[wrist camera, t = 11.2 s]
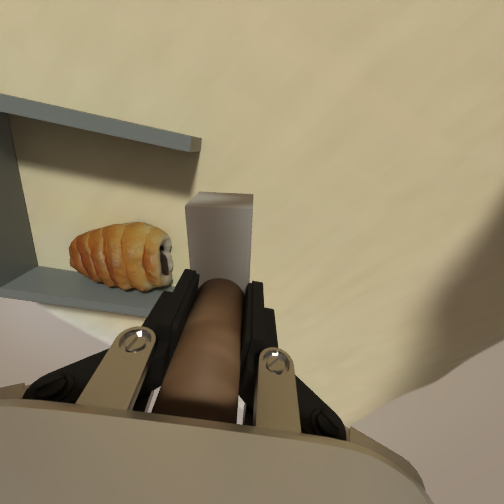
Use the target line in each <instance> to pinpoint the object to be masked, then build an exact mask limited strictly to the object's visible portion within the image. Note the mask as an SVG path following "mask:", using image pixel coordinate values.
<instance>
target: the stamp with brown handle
mask: <svg viewBox="0 0 504 504" xmlns="http://www.w3.org/2000/svg"><path fill="white" fill-rule="evenodd" d="M185 214H186V225H187V236H188V248H189V259H190V270H195V271H196V274H200V276H199V285H198V291H197V294H196V297H195V299H194V302H193V305H192V307H191V310H190V312H189V315H188V318H187V320H186V323H185V326H184V328H183V331H182V334H181V336H180V339H179V341H178V344H177V347H176V349H175V351H174V354H173V356H172V359H171V362H170V364H169V367H168V370H167V372H166V375H165V377H164V380H163V383H162V385H161V388H160V391H159V393H158V396H157V398H156V401H155V404H154V406H153V409H152V412H151V413H155V414H163V415H171V416H178V417H186V418H194V419H202V420H209V421H217V422H225V423H232V424H236V423H237V408H238V393H239V378H240V355H241V341H242V326H243V312H244V298H245V294H246V290H247V286H248V283H249V278H250V257H251V235H252V214H253V194H237V193H216V192H199V193H198V194H197V195H196V196H195V197H194V198H193V199H192V200H191V201H189V202H188V203H187V204H186V205H185Z"/></svg>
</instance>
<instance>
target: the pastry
mask: <svg viewBox="0 0 504 504" xmlns="http://www.w3.org/2000/svg"><path fill="white" fill-rule="evenodd" d="M170 249H171V241H170V237H169V236H168V235H167V233H166V232H164V231H163V230H161V229H159V228H157V227H154V226H151V225H149V224H146V223H141V222H132V223H125V224H114V225H110V226H107V227H103V228H99V229H95V230H91V231H89V232H86V233H84V234H82V235H79V236H77V237H76V238H75V239H74V240H73V241H72V242H71V245H70V247H69V253H70V266H71V267H73V268H74V269H76V270H77V271H78V272H79V273H81V274H82V275H84V276H87V277H89V278H91V279H92V281H94V282H103V283H104V284H105V285H106V286H107V287H114V286H117V287H119V288H120V289H123V290H128V289H131V288H136V289H137V290H139V291H141V292H143V291H149V290H151V289H153V288H155V287H161V286H167V285H169V284H170V282H171V281H172V276H171V274H172V272H171V271H172V270H173V261H172V257H171V254H170Z"/></svg>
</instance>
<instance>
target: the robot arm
mask: <svg viewBox="0 0 504 504" xmlns="http://www.w3.org/2000/svg"><path fill="white" fill-rule="evenodd" d="M199 276H200V274H196V271H195V270H189V269H185V270H184V272H183V274H182V276H181V278H180V279H179V281H178V283H177V285H176V287H175V289H174V290H173V292H170V291H163V292H162V294H161V295H160V297H159V299H158V300H157V302H156V304H155V305H154V307H153V308H152V310H151V312H150V313H149V315H148V317H147V318H146V320H145V322H144V323H143V325H142V326H141V327H132V328H129V329H126V330H124V331H123V332H121V333H120V334H119V335H118V336H117V337H116V339H115V340H114V342H113V344H112V345H111V347H110V348H109V349H107V350H104V351H102V352H99V353H97V354H94V355H92V356H89V357H87V358H85V359H82V360H80V361H78V362H75V363H73V364H70V365H68V366H65V367H63V368H60V369H58V370H56V371H53V372H51V373H48V374H46V375H44V376H42V377H41V378H39V379H38V380H36V381H35V382H34V383H32V384H31V385H27V386H25V383H21V384H16V385H11V386H6V387H2V388H0V504H434V503H433V501H432V500H431V498H430V497H429V496H428V494H427V493H426V491H425V487H424V484H423V481H422V479H421V477H420V475H419V474H418V472H417V471H416V469H415V468H414V467H413V466H412V465H411V464H410V462H408V461H407V460H405V459H404V458H403V457H402V456H400V455H398V454H396V453H395V452H393V451H392V450H390V449H388V448H386V447H385V446H383V445H381V444H380V443H378V442H376V441H375V440H373V439H371V438H370V437H368V436H366V435H365V434H363V433H361V432H360V431H358V430H356V429H355V428H353V427H350V428H347V427H345V426H344V424H343V422H342V421H341V419H340V418H339V416H338V415H337V414H336V413H335V412H334V411H333V410H332V409H331V408H330V407H329V406H328V405H327V404H325V403H324V402H323V401H322V400H321V399H320V398H319V397H318V396H317V395H316V394H315V393H314V392H313V391H312V390H311V389H310V388H309V387H307V386H306V385H305V384H304V383H303V382H302V381H301V380H300V379H299V378H298V377H297V376H296V375H295V371H294V364H293V360H292V359H291V357H290V356H289V355H288V354H287V353H286V352H285V351H283V350H282V349H279V348H278V341H277V332H276V324H275V315H274V310H273V309H269V308H264V295H263V283H262V282H257V281H252V283H248V286H247V290H246V294H245V298H244V312H243V326H242V341H241V355H240V378H239V393H238V395H239V396H240V397H241V398H242V400H243V401H244V402H245V405H244V414H243V424H242V425H240V424H232V423H225V422H217V421H209V420H202V419H194V418H186V417H178V416H171V415H163V414H155V413H147V411H148V408H149V405H150V402H151V399H152V396H153V393H154V390H155V389H156V388H158V387H160V386H161V385H162V383H163V380H164V377H165V375H166V372H167V370H168V367H169V364H170V362H171V359H172V356H173V354H174V351H175V349H176V347H177V344H178V341H179V339H180V336H181V334H182V331H183V328H184V326H185V323H186V320H187V318H188V315H189V312H190V310H191V307H192V305H193V302H194V299H195V297H196V294H197V291H198V285H199Z"/></svg>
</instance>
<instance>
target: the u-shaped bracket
mask: <svg viewBox="0 0 504 504" xmlns="http://www.w3.org/2000/svg"><path fill="white" fill-rule="evenodd" d="M7 113H10V114H15V115H19V116H24V117H28V118H33V119H38V120H42V121H47V122H52V123H56V124H61V125H65V126H70V127H75V128H79V129H84V130H89V131H93V132H98V133H103V134H107V135H112V136H116V137H121V138H126V139H130V140H135V141H140V142H144V143H149V144H153V145H158V146H163V147H167V148H172V149H177V150H181V151H186V152H199V151H200V149H201V140H202V138H197V137H193V136H189V135H184V134H180V133H175V132H171V131H166V130H162V129H157V128H153V127H148V126H144V125H139V124H135V123H130V122H126V121H121V120H117V119H113V118H108V117H104V116H99V115H95V114H90V113H86V112H81V111H77V110H72V109H68V108H63V107H59V106H54V105H50V104H45V103H41V102H36V101H32V100H28V99H23V98H19V97H14V96H10V95H5V94H1V93H0V297H4V298H11V299H19V300H25V301H33V302H40V303H47V304H55V305H62V306H69V307H76V308H84V309H91V310H98V311H106V312H113V313H120V314H127V315H135V316H142V317H148V315H149V313H150V312H151V310H152V308H153V307H154V305H155V304H156V302H157V300H158V299H159V297H160V295H161V294H162V292H163V291H170V292H173V290H174V289H175V287H172V286H161V287H155V288H153V289H151V290H149V291H143V292H141V291H139V290H137V289H136V288H131V289H128V290H123V289H120V288H119V287H117V286H114V287H107V286H106V285H105V284H104V283H103V282H94V281H92V279H91V278H89V277H87V276H84V275H82V274H81V273H79V272H74V271H67V270H61V269H54V268H48V267H41V266H38V264H37V259H36V254H35V249H34V244H33V239H32V234H31V230H30V225H29V220H28V215H27V210H26V205H25V200H24V195H23V190H22V185H21V180H20V176H19V171H18V166H17V161H16V156H15V151H14V146H13V141H12V136H11V131H10V126H9V122H8V117H7Z"/></svg>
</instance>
